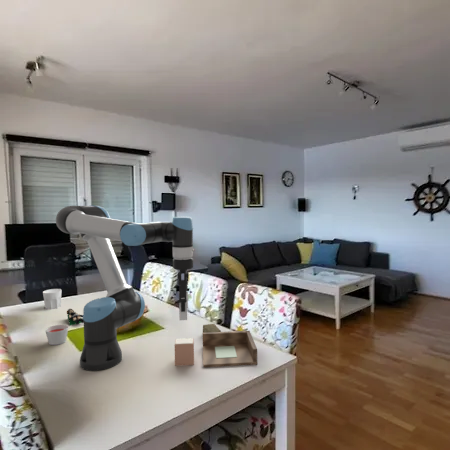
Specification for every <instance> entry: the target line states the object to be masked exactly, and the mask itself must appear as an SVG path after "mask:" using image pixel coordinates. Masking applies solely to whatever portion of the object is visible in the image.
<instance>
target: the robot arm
mask: <svg viewBox="0 0 450 450" xmlns="http://www.w3.org/2000/svg"><path fill="white" fill-rule="evenodd" d="M55 216H56V217H55V224H56V227H57V228H58V230H60V231H61V232H63V233H65V234H69V235H76V236H77V235H80V236H81V239H82V241H85V242H87V245H88V246H89V249H90V252H91V254H92V257H93V259H94V262H95V264H96V267H97V270H98V272H99V274H100V277H101V280H102V282H103V285H104V287H105V289H106V292H107V294H106V296H105V297H104V296H103V297H100V298H96V299H92V300H90V301H88V302H87V303H86V304H85V305H84V307H83V310H82V315H83V317H82V318H83V323H82V324H83V340H84V341H83V343H84V344H83V347H82V351H81V353H80V358H79V366H80V368H81V369H82V370H84V371H92V372H93V371H94V372H95V371H96V372H97V371H103V370H107V369H110V368H112V367H114V366H116V365H118V364H120V362H121V361H122V360H123V353H122V349H121V346H120V345H119V341H118V338H117V337H118V336H117V330H118V329H119V328H122V327H123V326H125V325H128V324H131V323H133V322H136V321H137V320H138V319H140V318H141V317H142V316H143V314H144V313H145V312H144V311H145V309H146V303H145V298H144V296H143V295H142V294H141V293H139V291H135V289H134V287H133V286H132V285H129V284H128V283H127V282H128V281H127V280H126V278H125V275H124V273H123V270H122V268H121V265H120V262H119V260H118V258H117V255H116V253H115V251H114V247H113V246H112V243H111V240H112V241H118V242H121V243H123V244H124V245H125V246H129V247H132V246H134V247H137V246H141V245H145V244H153V243H160V242H168V243H169V242H170V243H172V258H173V259H172V267H173V268H172V269H174V270H179V272H178V274H177V279H178V283H177V284H178V286H179V289H178V291H179V293H178V296H179V297H178V300H177V303H178V306H179V307H178V308H179V321H188V309H189V292H190V288H189V286H188V285H189V277H190V274H189V273H190V272H188V270H191V269H193V268H194V258H193V257H194V252H195V248H194V245H193V244H194V242H193V239H194V238H193V237H194V235H193V234H194V227H193V219H192V217H191V216H174V217H172V220H171V221H150V222H141V223H138V222H135V221H134V222H133V221H127V220H120V219H115V218H111V216H110V214H109V212H108V210H107V209H105V208H104V207H103V206H100V205H92V204H91V205H68V206H65V207H63V208H61V209H59V211H58V213H57V214H56V215H55Z"/></svg>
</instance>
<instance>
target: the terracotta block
mask: <svg viewBox="0 0 450 450" xmlns="http://www.w3.org/2000/svg"><path fill="white" fill-rule="evenodd" d="M194 340H195V339H194V337H191V338H190V337H189V338H187V337H186V338H175V340H174V366H175V367H178V366H180V367H181V366H194V364H195V347H194V346H195V341H194Z"/></svg>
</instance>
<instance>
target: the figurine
mask: <svg viewBox="0 0 450 450" xmlns="http://www.w3.org/2000/svg"><path fill="white" fill-rule="evenodd" d="M66 314H67V320H68V324H69V325H68V326H75V325H79V324H84V323H83V314H80V313H77V312H76V311H75V310H74V309H72V308H68V309H67V310H66Z"/></svg>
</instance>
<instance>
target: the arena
mask: <svg viewBox="0 0 450 450" xmlns="http://www.w3.org/2000/svg"><path fill="white" fill-rule="evenodd" d="M222 346H234V347H235V351H236V355H237V357H235V358H216V352H215V347H222ZM202 362H203V363H202V364H203V365H202V367H203V368H217V367H219V368H221V367H235V366H236V367H238V366H239V367H240V366H254V365H255V366H256V365H258V348H257V344H256V343H255V341H254V337H253V335H252V332H251V331H250V330H236V331H234V330H233V331H231V330H230V331H221V332H208V333H203V332H202Z"/></svg>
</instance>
